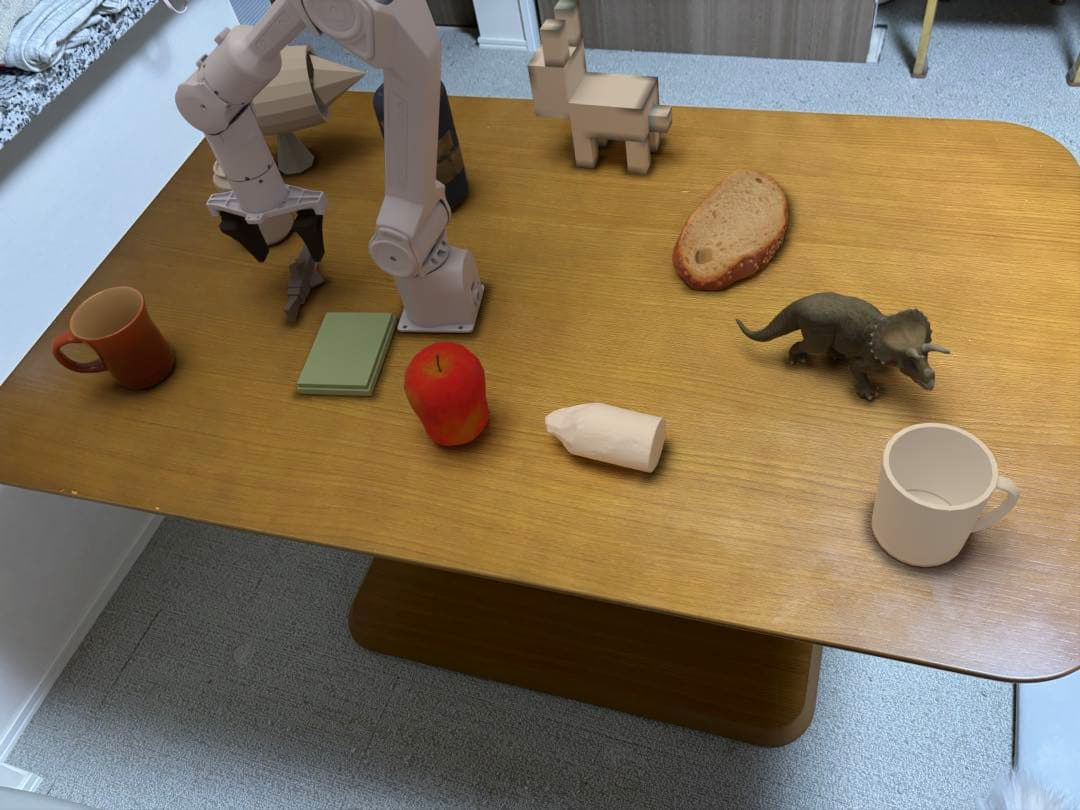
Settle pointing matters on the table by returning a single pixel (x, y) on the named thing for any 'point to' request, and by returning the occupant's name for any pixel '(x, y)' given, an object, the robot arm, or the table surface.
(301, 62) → the jet engine
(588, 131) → the toy llama
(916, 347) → the toy dinosaur
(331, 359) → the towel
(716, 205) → the bread slice
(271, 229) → the can
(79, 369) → the mug
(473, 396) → the apple
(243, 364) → the table surface
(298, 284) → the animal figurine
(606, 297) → the table surface
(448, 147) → the canister
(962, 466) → the mug
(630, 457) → the white tapered cylinder
